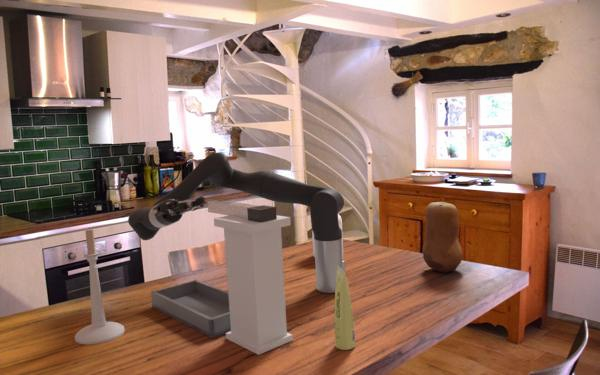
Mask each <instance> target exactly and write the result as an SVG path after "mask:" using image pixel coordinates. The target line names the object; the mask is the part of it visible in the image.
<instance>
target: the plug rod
mask: <svg viewBox="0 0 600 375" xmlns="http://www.w3.org/2000/svg"><path fill="white" fill-rule="evenodd" d="M207 212H208V213H212V214H218V215H223V216H234V217H239V218H245V219H248V220H249V221H255V222H265V221H270V220H275V219H277V216H276V215H277V207H276V206H271V205H263V204H262V205H257V204H249V203H244V202H242V203H241V202H236V201H235V202H234V201H229V200H228V201H227V200H222V199H221V200H220V199H213V200H207Z"/></svg>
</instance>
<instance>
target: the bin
mask: <svg viewBox="0 0 600 375" xmlns="http://www.w3.org/2000/svg"><path fill="white" fill-rule="evenodd" d="M150 294H151V295H150V296H151V305H152V306H151V307H152V308H153V309H155V310H157V311H159V312H161V313H163V314H165V315H166V316H169V317H170V318H173V320H176V321H179V322H180V323H182V324H183V325H186V326H187V327H190V329H191V328H192V329H193V330H195V331H197V332H199V333H201V334H203V335H205V336H206V337H208V338H210V339H214V338H216V337H220V336H222V335H226V333H227V332H230V331H231V324H230V309H229V295H228V290H224V289H221V288H219V287H216V286H214V285H211V284H208V283H206V282H203V281H201V280H198V279H193V280H189V281H185V282H182V283H179V284H174V285H170V286H168V287H167V286H166V287H164V288H161V289H160V288H159V289H156V290H152V291H150Z"/></svg>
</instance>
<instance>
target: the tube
mask: <svg viewBox="0 0 600 375" xmlns="http://www.w3.org/2000/svg"><path fill="white" fill-rule="evenodd" d="M346 276H347V275H346ZM346 276H345V273H344V272H343V271H342V270H341V269H340V267H339V266H338V269H337V274H336V288H335V293H334V294H335V295H334V345H335V348H336V349H338V350H342V351H347V350H352V349H354V348H355V346H356V338H355V324H354V313H353V307H352V299H351V298H352V297H351V292H350V286H349V284H348V283H349V282H348V280H347V277H346Z"/></svg>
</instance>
